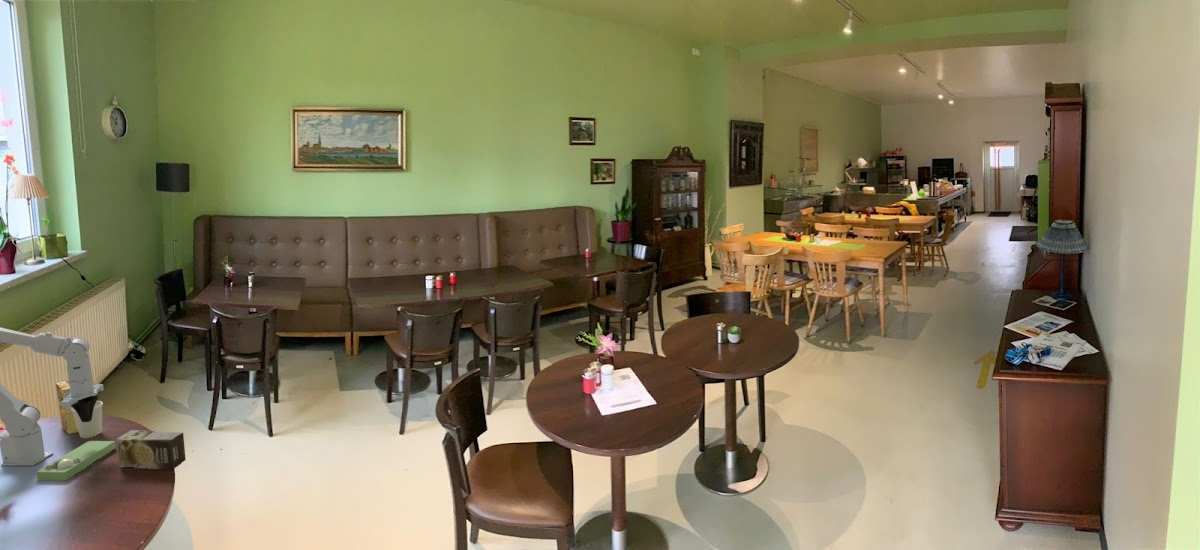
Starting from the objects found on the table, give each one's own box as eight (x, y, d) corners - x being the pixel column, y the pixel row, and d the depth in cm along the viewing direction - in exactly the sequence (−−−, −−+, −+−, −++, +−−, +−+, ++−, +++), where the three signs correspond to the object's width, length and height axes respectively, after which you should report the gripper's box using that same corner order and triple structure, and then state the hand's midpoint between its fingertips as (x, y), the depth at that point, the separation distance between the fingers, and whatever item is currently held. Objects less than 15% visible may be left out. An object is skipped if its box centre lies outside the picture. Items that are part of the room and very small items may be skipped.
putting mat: (37, 480, 191) (36, 471, 191) (90, 448, 211) (88, 440, 210) (66, 480, 191) (64, 472, 191) (115, 448, 211) (114, 441, 210)
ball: (62, 454, 195) (56, 463, 196) (59, 466, 192) (53, 474, 194) (78, 457, 198) (72, 465, 199) (75, 468, 195) (69, 477, 196)
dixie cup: (70, 441, 216) (65, 411, 214) (81, 430, 224) (77, 401, 222) (100, 438, 218) (96, 408, 216) (111, 427, 226) (107, 399, 224)
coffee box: (115, 438, 197) (168, 440, 196) (131, 429, 203) (183, 431, 202) (119, 468, 199) (172, 470, 198) (135, 458, 205) (186, 460, 204)
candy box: (61, 427, 226) (54, 383, 223) (76, 423, 229) (70, 379, 226) (68, 434, 220) (61, 389, 217) (84, 430, 224) (77, 386, 221)
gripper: (75, 387, 198) (82, 431, 201) (110, 370, 213) (116, 411, 215) (51, 387, 198) (58, 431, 201) (88, 370, 213) (94, 411, 215)
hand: (86, 421), depth 208 cm, fingers closed
